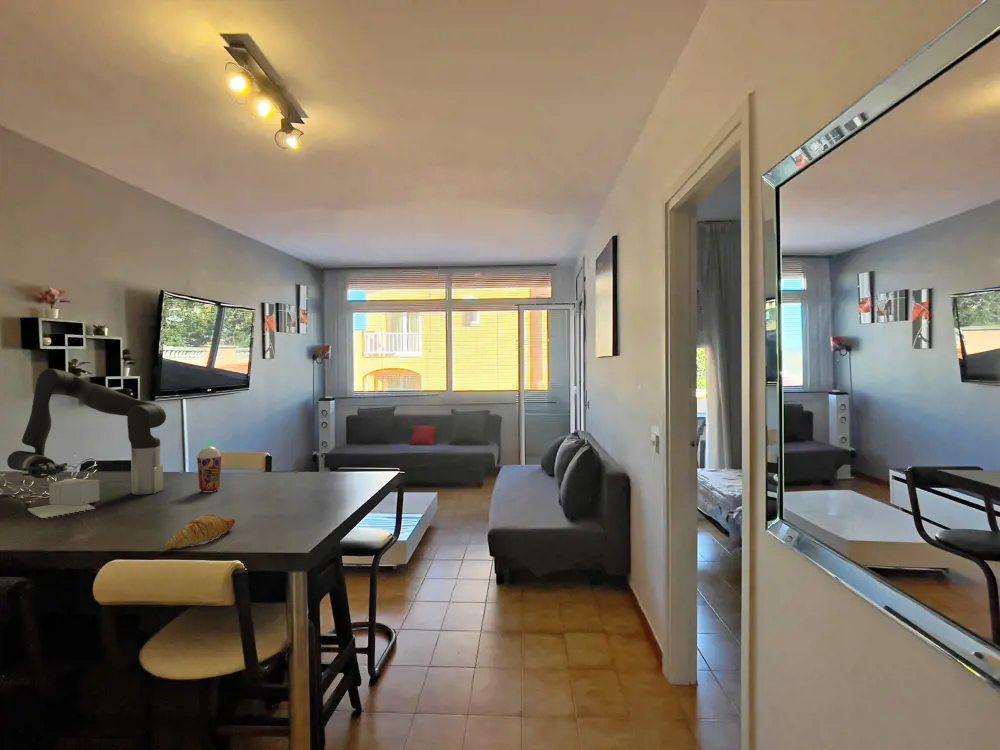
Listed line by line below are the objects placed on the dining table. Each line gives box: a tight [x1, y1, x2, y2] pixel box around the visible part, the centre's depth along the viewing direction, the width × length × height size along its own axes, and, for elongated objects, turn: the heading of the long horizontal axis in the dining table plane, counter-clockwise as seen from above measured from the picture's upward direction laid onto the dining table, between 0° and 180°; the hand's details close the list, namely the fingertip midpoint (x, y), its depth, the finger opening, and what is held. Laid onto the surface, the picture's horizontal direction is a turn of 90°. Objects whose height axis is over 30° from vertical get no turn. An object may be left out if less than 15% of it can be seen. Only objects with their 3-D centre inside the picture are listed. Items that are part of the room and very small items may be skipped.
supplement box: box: [48, 478, 101, 506], centre depth 186 cm, size 7×7×13 cm
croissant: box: [164, 514, 236, 550], centre depth 150 cm, size 21×10×8 cm, turn 159°
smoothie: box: [196, 438, 222, 492], centre depth 205 cm, size 8×8×20 cm
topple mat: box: [27, 503, 96, 519], centre depth 179 cm, size 16×14×1 cm
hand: (53, 472), depth 183 cm, fingers closed
